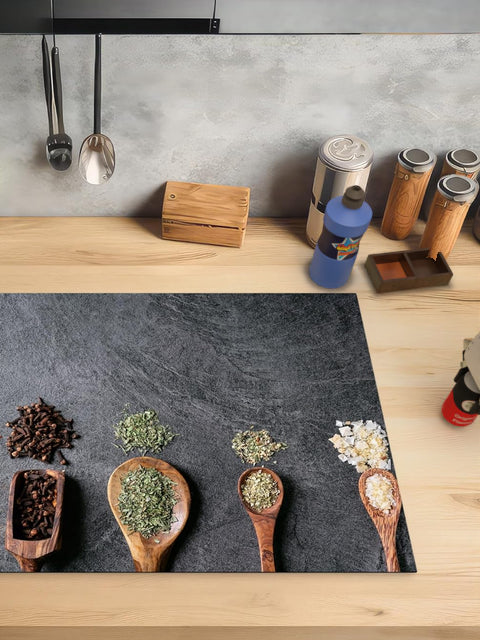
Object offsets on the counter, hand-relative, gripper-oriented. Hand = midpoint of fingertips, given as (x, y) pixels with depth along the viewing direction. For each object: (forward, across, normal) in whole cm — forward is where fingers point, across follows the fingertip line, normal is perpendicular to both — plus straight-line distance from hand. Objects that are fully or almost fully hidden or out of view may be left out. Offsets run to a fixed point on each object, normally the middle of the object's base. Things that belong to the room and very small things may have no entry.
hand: (469, 395), depth 137 cm
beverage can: (+7, 0, 0) cm, 7 cm away
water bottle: (+9, +40, +13) cm, 43 cm away
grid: (+9, +38, -4) cm, 39 cm away
